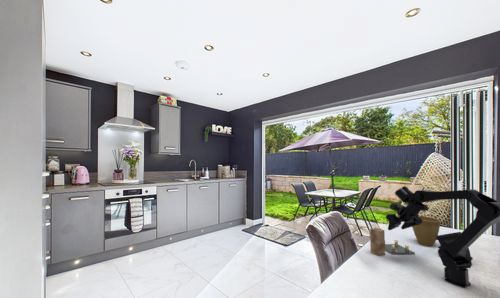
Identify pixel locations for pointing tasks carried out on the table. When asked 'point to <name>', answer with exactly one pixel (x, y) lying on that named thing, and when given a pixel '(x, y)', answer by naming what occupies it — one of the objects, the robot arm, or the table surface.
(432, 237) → the plant pot
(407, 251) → the standoff plate
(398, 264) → the table surface
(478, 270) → the table surface
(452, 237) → the black shoulder bracket
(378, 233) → the walnut block
